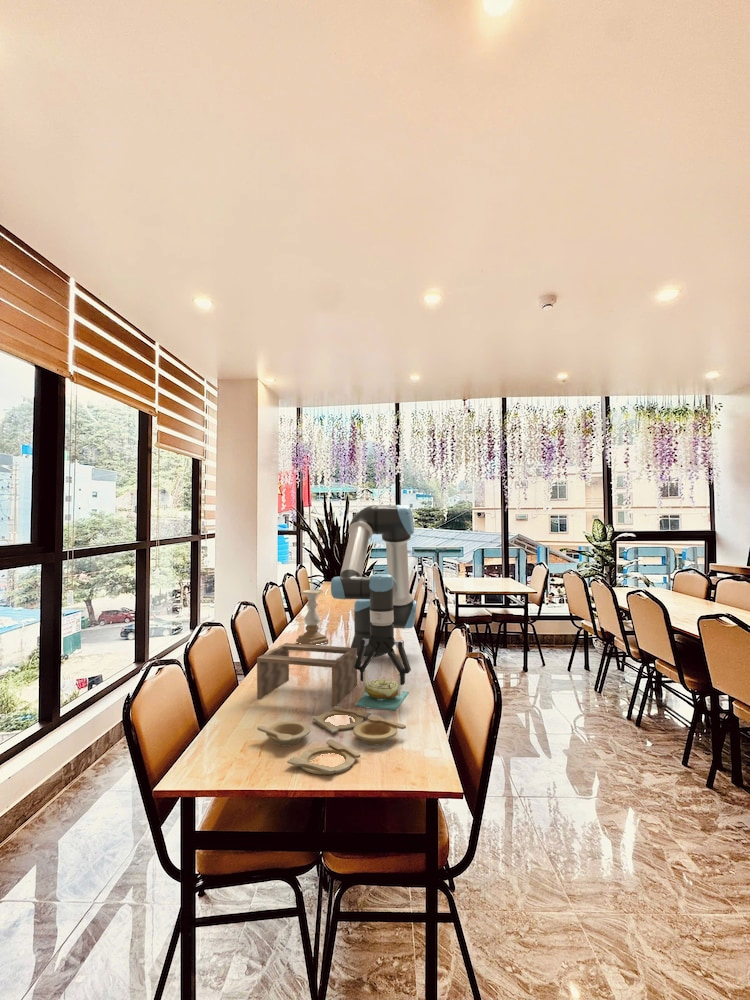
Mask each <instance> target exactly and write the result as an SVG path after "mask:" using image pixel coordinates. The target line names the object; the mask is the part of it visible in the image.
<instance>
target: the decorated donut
mask: <svg viewBox="0 0 750 1000" xmlns="http://www.w3.org/2000/svg"><path fill="white" fill-rule="evenodd" d="M366 691H367V693H368V695H369V696H371V697H374V698H378V699H380V698H392V697H395V696H397V695H398V682H396V681H394V680H391V679H385V678H383V679H381V678H379V679H372V680H369V681H368V683H367V684H366Z"/></svg>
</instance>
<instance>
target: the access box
mask: <svg viewBox="0 0 750 1000" xmlns="http://www.w3.org/2000/svg"><path fill="white" fill-rule="evenodd" d="M289 651H300V652H313V653H314V652H315V653H328V654H341V656H339V657H338V658H337V659H326V658H325V659H324V658H312V657H300V656H290V655H289V653H290V652H289ZM357 657H358V656H357V648H351V646H350V647H346V646H332V645H331V646H330V645H306V644H297V643H290V642H289V643H288V642H285V643H283V644H281V645H279V646H277V647H275V648H273V649H272V650H270V651H267V652H266V653H264V654H262V655H259V656H258V657H256V666H257V667H256V692H257V693H256V698H257V699H258V700H261V699H263V698H264V697H266V696H267V695H269V694H271V693H272V692H273V691H275V690H276V689H278V688H279V687H281V686H282V685H284V684H285V683H287V682H288V681H290V665H294V666H307V667H320V668H331V707H332V706H336V705H337V704H338V705H339V704H340V703H341V702H343V699H344V698H345V697H346V696H347V695H348V694H349V693H350V692H351V691H352V690H353V689H354V688H355V687H356V686H357V687H358V669H355V668H354V667H355V663H356V660H357ZM357 687H356V688H357ZM356 688H355V689H356ZM355 689H354V690H355ZM354 690H353V691H354ZM353 691H352V692H353ZM352 692H351V693H352ZM351 693H350V694H351ZM350 694H349V695H350ZM349 695H348V696H349ZM348 696H347V697H348ZM347 697H346V698H347ZM346 698H345V699H346ZM345 699H344V700H345ZM338 705H337V706H338ZM337 706H336V707H337Z"/></svg>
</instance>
